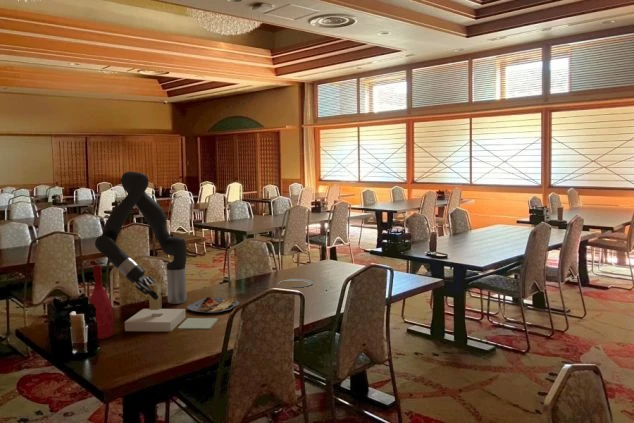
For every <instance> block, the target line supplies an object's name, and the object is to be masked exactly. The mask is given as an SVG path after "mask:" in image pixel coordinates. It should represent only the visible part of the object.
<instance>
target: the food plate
mask: <svg viewBox="0 0 634 423" xmlns="http://www.w3.org/2000/svg"><path fill="white" fill-rule="evenodd" d="M217 305H218V306H217ZM238 305H240V301H239V300H237V299H236V297H226V296H225V297H221V296H220V297H218V296H217V297H211V296H208V297H206V298H202V299H199V300H195V301H194V302H191V303H190V304H187V307H186V309H187V310H190V311H191V312H199V313H205V314H210V313H211V314H218V313H222V312H224V311H225V312H226V311H229V310H231V309H234V308H235V307H236V306H238ZM215 306H217V307H215ZM212 307H215V308H214V309H213V310H210V309H212ZM209 310H210V311H209Z"/></svg>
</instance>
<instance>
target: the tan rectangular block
mask: <svg viewBox="0 0 634 423" xmlns="http://www.w3.org/2000/svg"><path fill="white" fill-rule="evenodd" d="M150 288H151V289H152V290H153V291H154V292H155V293H156V294H157V295H158V296H159V297H158V298H157V299H156V300H154V299H153V298H152V297H151V296H150V295H148V302H149V304H148V305H149V309H150V310H159V309H163V307H162V306H163V305H162V304H163V302H162V296H161V292H162V283H161V282H156V283H151V284H150Z"/></svg>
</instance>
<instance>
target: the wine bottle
mask: <svg viewBox="0 0 634 423" xmlns="http://www.w3.org/2000/svg"><path fill="white" fill-rule="evenodd" d="M92 269H93V277H94V287H93V291H92V293H91V296H90V298H89V301H90V303H91V302H92V303H93V304H94V305H95V306H94V307H95V308H96V321H97V328H98V338H99V339H98V340H104V339H107V338H111V337H112V336H113V335H114V333H115V332H114V310H113V306H112V305H113V304H112V303H111V299H110V298H109V296H108V294H107V292H106V291H105V289H104V285H103V280H102V276H103V270H102V269H103V268H102V265H99V264H96V265H94V266H92ZM92 303H91V304H92Z"/></svg>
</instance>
